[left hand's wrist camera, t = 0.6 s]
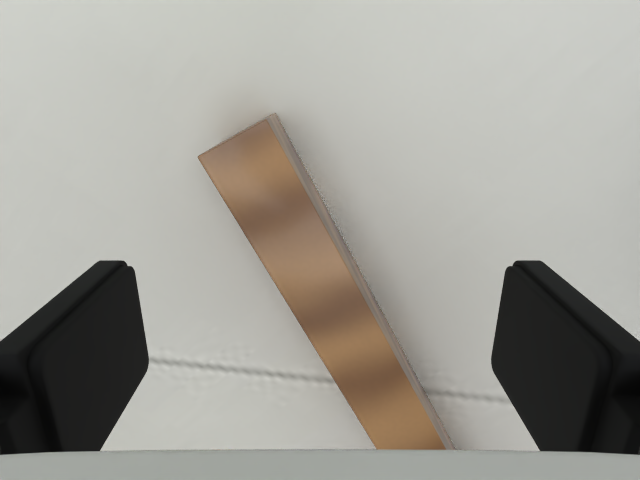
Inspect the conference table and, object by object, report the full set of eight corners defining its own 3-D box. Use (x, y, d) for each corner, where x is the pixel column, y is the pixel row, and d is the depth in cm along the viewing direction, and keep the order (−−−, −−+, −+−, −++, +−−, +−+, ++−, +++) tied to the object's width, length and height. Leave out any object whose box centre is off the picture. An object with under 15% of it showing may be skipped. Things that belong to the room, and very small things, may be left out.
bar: (219, 143, 32) (197, 156, 25) (275, 112, 31) (266, 118, 25) (485, 593, 48) (510, 667, 42) (525, 579, 47) (557, 652, 41)
